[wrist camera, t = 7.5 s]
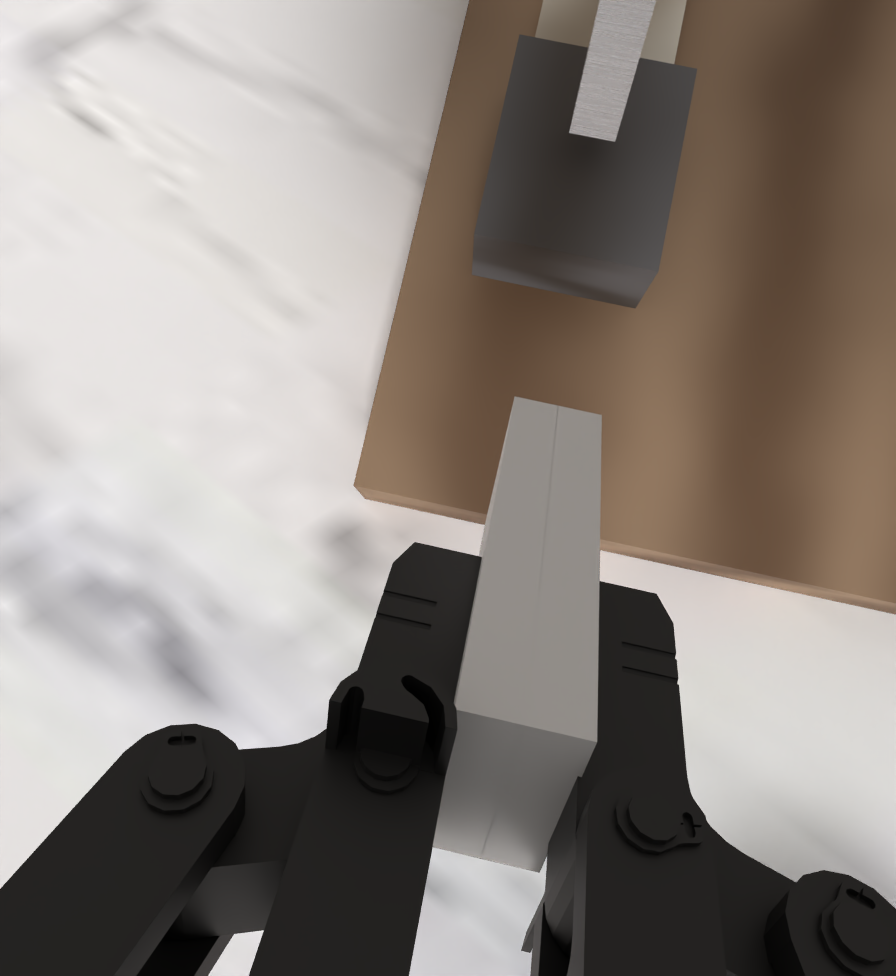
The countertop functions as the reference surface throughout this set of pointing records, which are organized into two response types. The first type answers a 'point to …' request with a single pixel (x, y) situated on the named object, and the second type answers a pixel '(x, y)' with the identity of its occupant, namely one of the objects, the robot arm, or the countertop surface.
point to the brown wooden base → (666, 287)
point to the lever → (610, 66)
